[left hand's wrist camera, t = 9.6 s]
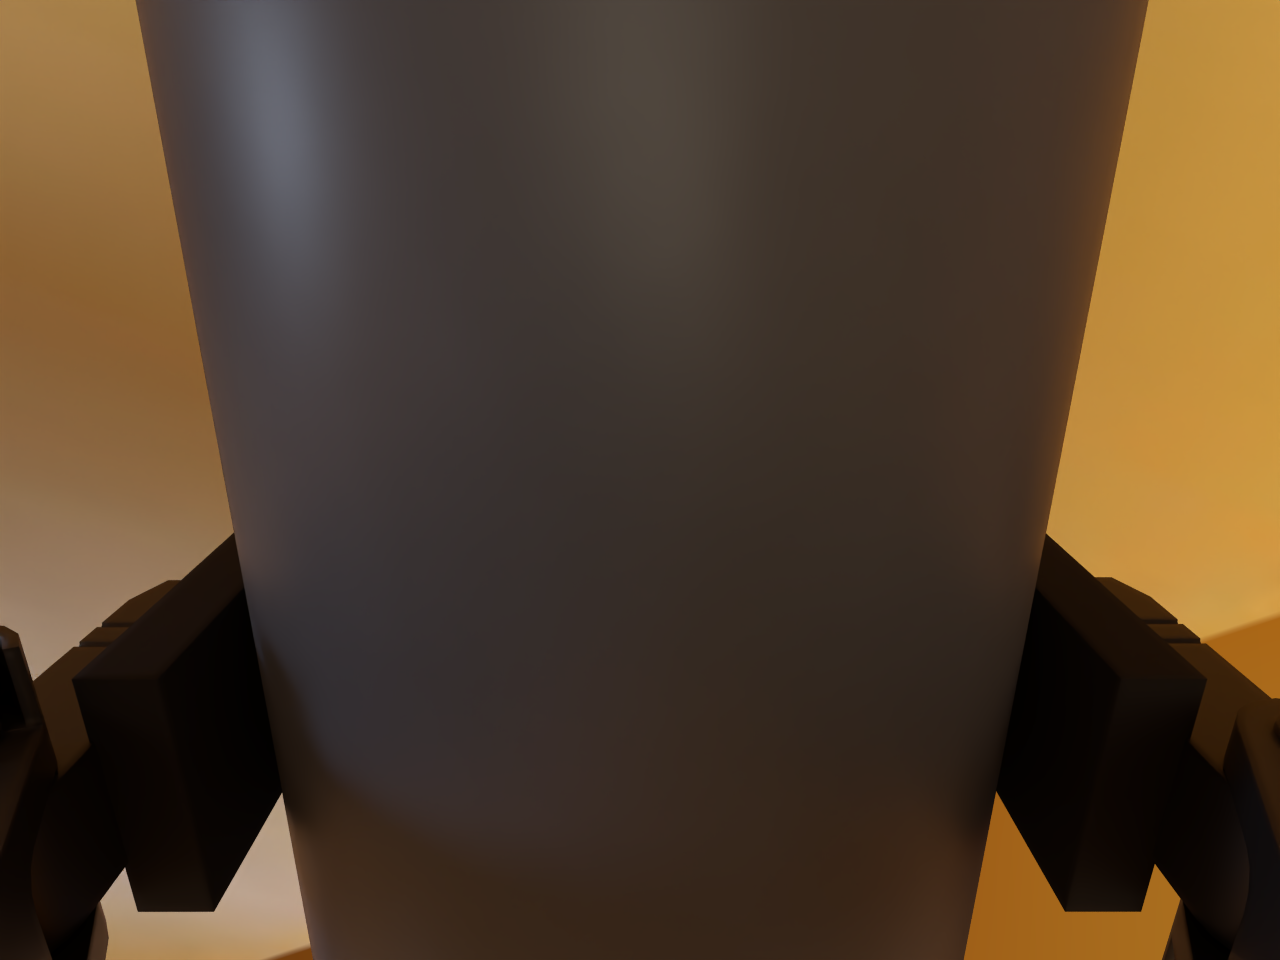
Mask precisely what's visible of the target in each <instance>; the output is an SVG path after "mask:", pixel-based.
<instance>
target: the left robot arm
mask: <svg viewBox="0 0 1280 960" xmlns="http://www.w3.org/2000/svg"><path fill="white" fill-rule="evenodd" d="M996 791H997V793H998V795H999V797H1000V798H1001V800H1002V802H1003V804H1004V805H1005V807H1006V809H1007V811H1008V812H1009V814H1010V816H1011V818H1012V819H1013V821H1014V823H1015V825H1016V826H1017V828H1018V830H1019V832H1020V833H1021V835H1022V837H1023V839H1024V840H1025V842H1026V844H1027V846H1028V847H1029V849H1030V851H1031V853H1032V854H1033V856H1034V858H1035V860H1036V861H1037V863H1038V865H1039V867H1040V868H1041V870H1042V872H1043V874H1044V875H1045V877H1046V879H1047V881H1048V882H1049V884H1050V886H1051V888H1052V889H1053V891H1054V893H1055V895H1056V896H1057V898H1058V900H1059V902H1060V904H1061V905H1062V907H1063V909H1064V911H1065V912H1141V910H1142V906H1143V903H1144V900H1145V896H1146V893H1147V889H1148V886H1149V882H1150V879H1151V875H1152V872H1153V868H1154V865H1155V864H1156V866H1157V867H1158V868H1159V870H1160V871H1161V873H1162V874H1163V875H1164V877H1165V878H1166V879H1167V881H1168V882H1169V883H1170V885H1171V886H1172V887H1173V889H1174V890H1175V891H1176V893H1177V894H1178V896H1179V897H1180V898H1181V900H1180V903H1179V906H1178V909H1177V913H1176V916H1175V919H1174V922H1173V926H1172V929H1171V932H1170V935H1169V939H1168V942H1167V945H1166V949H1165V952H1164V955H1163V958H1162V960H1280V699H1278V698H1274V699H1271V698H1270V697H1269V696H1268V695H1267V694H1265V693H1264V692H1263V691H1262V690H1261V689H1259V688H1258V687H1257V686H1256V685H1255V684H1254V683H1252V682H1251V681H1250V680H1249V679H1248V678H1246V677H1245V676H1244V675H1243V674H1242V673H1241V672H1239V671H1238V670H1237V669H1236V668H1235V667H1233V666H1232V665H1231V664H1230V663H1229V662H1227V661H1226V660H1225V659H1224V658H1223V657H1221V656H1220V655H1219V654H1218V653H1217V652H1216V651H1214V650H1213V649H1212V648H1211V647H1209V646H1208V645H1207V644H1201V642H1200V638H1199V637H1198V636H1197V635H1195V634H1194V633H1193V632H1192V631H1191V630H1189V629H1188V628H1187V627H1186V626H1185V625H1183V624H1178V622H1177V619H1176V618H1175V617H1174V616H1173V615H1172V614H1170V613H1169V612H1168V611H1167V610H1166V609H1164V608H1163V607H1162V606H1161V605H1160V604H1158V603H1157V602H1156V601H1155V600H1154V599H1153V598H1151V597H1150V596H1148V595H1146V594H1144V593H1142V592H1140V591H1138V590H1136V589H1134V588H1132V587H1130V586H1128V585H1126V584H1124V583H1122V582H1120V581H1118V580H1116V579H1114V578H1112V577H1094V576H1093V575H1091V574H1090V573H1089V572H1088V571H1087V570H1086V569H1085V568H1084V567H1083V566H1082V565H1080V564H1079V563H1078V562H1077V561H1076V560H1075V559H1074V558H1073V557H1072V556H1070V555H1069V554H1068V553H1067V552H1066V551H1065V550H1064V549H1063V548H1062V547H1060V546H1059V545H1058V544H1057V543H1056V542H1055V541H1054V540H1053V539H1052V538H1050V537H1049V536H1048V535H1047V534H1046V535H1045V540H1044V545H1043V550H1042V555H1041V561H1040V566H1039V571H1038V576H1037V581H1036V586H1035V592H1034V597H1033V602H1032V607H1031V612H1030V618H1029V623H1028V628H1027V633H1026V638H1025V644H1024V649H1023V654H1022V659H1021V664H1020V669H1019V675H1018V680H1017V685H1016V690H1015V695H1014V701H1013V706H1012V711H1011V716H1010V721H1009V727H1008V732H1007V737H1006V742H1005V747H1004V752H1003V758H1002V763H1001V768H1000V773H999V778H998V784H997V789H996ZM281 793H282V788H281V782H280V777H279V772H278V766H277V761H276V755H275V750H274V745H273V739H272V734H271V728H270V723H269V718H268V712H267V707H266V701H265V696H264V691H263V685H262V680H261V674H260V669H259V664H258V658H257V653H256V647H255V642H254V637H253V631H252V626H251V620H250V615H249V610H248V604H247V599H246V593H245V588H244V583H243V577H242V572H241V566H240V561H239V556H238V550H237V545H236V539H235V534H234V533H233V534H232V535H231V536H230V537H229V538H227V539H226V540H225V541H224V542H223V543H222V544H221V545H220V546H219V547H218V548H216V549H215V550H214V551H213V552H212V553H211V554H210V555H209V556H208V557H206V558H205V559H204V560H203V561H202V562H201V563H200V564H199V565H198V566H196V567H195V568H194V569H193V570H192V571H191V572H190V573H189V574H188V575H186V576H185V577H184V578H183V579H182V580H168V581H166V582H164V583H162V584H160V585H158V586H156V587H154V588H152V589H150V590H148V591H146V592H144V593H142V594H140V595H138V596H136V597H134V598H132V599H130V600H128V601H127V602H126V603H125V604H124V605H123V606H121V607H120V608H119V609H118V610H117V611H115V612H114V613H113V614H112V615H111V616H110V617H108V618H107V619H106V620H105V621H104V622H102V627H97V628H95V629H94V630H93V631H92V632H91V633H90V634H88V635H87V636H86V637H85V638H84V639H82V640H81V641H80V645H79V647H73V648H72V649H71V650H69V651H68V652H67V653H66V654H65V655H64V656H62V657H61V658H60V659H59V660H58V661H56V662H55V663H54V664H53V665H52V666H51V667H49V668H48V669H47V670H46V671H45V672H44V673H42V674H41V675H40V676H39V677H38V678H36V679H35V680H34V681H33V680H32V677H31V674H30V670H29V667H28V664H27V661H26V657H25V654H24V651H23V648H22V644H21V641H20V638H19V635H18V633H16V632H14V631H12V630H11V629H9V628H7V627H5V626H0V960H105V958H106V952H107V945H108V939H109V937H108V931H107V924H106V919H105V916H104V913H103V909H102V906H101V903H100V900H101V899H102V898H103V896H104V895H105V894H106V892H107V891H108V889H109V888H110V887H111V885H112V884H113V883H114V881H115V880H116V879H117V877H118V876H119V874H120V873H121V872H122V870H123V869H124V868H126V872H127V875H128V879H129V882H130V886H131V889H132V893H133V896H134V900H135V903H136V907H137V910H138V912H214V911H215V909H216V907H217V905H218V904H219V902H220V900H221V898H222V897H223V895H224V893H225V891H226V890H227V888H228V886H229V884H230V883H231V881H232V879H233V877H234V876H235V874H236V872H237V870H238V869H239V867H240V865H241V863H242V862H243V860H244V858H245V856H246V855H247V853H248V851H249V849H250V848H251V846H252V844H253V842H254V841H255V839H256V837H257V835H258V834H259V832H260V830H261V828H262V827H263V825H264V823H265V821H266V820H267V818H268V816H269V814H270V813H271V811H272V809H273V807H274V806H275V804H276V802H277V800H278V799H279V797H280V795H281Z"/></svg>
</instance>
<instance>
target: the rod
mask: <svg viewBox="0 0 1280 960" xmlns="http://www.w3.org/2000/svg"><path fill="white" fill-rule="evenodd" d="M136 5H137V10H138V15H139V21H140V26H141V32H142V37H143V42H144V48H145V53H146V59H147V64H148V69H149V75H150V80H151V86H152V91H153V96H154V102H155V107H156V113H157V118H158V123H159V129H160V134H161V140H162V145H163V150H164V156H165V161H166V167H167V172H168V177H169V183H170V188H171V194H172V199H173V204H174V210H175V215H176V221H177V226H178V231H179V237H180V242H181V248H182V253H183V258H184V264H185V269H186V275H187V280H188V286H189V291H190V296H191V302H192V307H193V313H194V318H195V323H196V329H197V334H198V340H199V345H200V350H201V356H202V361H203V367H204V372H205V377H206V383H207V388H208V394H209V399H210V404H211V410H212V415H213V421H214V426H215V431H216V437H217V442H218V448H219V453H220V458H221V464H222V469H223V475H224V480H225V485H226V491H227V496H228V502H229V507H230V512H231V518H232V523H233V529H234V534H235V539H236V545H237V550H238V556H239V561H240V566H241V572H242V577H243V583H244V588H245V593H246V599H247V604H248V610H249V615H250V620H251V626H252V631H253V637H254V642H255V647H256V653H257V658H258V664H259V669H260V674H261V680H262V685H263V691H264V696H265V701H266V707H267V712H268V718H269V723H270V728H271V734H272V739H273V745H274V750H275V755H276V761H277V766H278V772H279V777H280V782H281V788H282V793H283V799H284V804H285V810H286V815H287V820H288V826H289V831H290V837H291V842H292V847H293V853H294V858H295V864H296V869H297V874H298V880H299V885H300V891H301V896H302V901H303V907H304V912H305V918H306V923H307V928H308V934H309V939H310V945H311V950H312V955H313V960H964V955H965V950H966V944H967V939H968V934H969V929H970V924H971V919H972V913H973V908H974V903H975V898H976V892H977V887H978V882H979V877H980V872H981V867H982V861H983V856H984V851H985V846H986V841H987V835H988V830H989V825H990V819H991V815H992V810H993V804H994V799H995V794H996V789H997V784H998V778H999V773H1000V768H1001V763H1002V758H1003V752H1004V747H1005V742H1006V737H1007V732H1008V727H1009V721H1010V716H1011V711H1012V706H1013V701H1014V695H1015V690H1016V685H1017V680H1018V675H1019V669H1020V664H1021V659H1022V654H1023V649H1024V644H1025V638H1026V633H1027V628H1028V623H1029V618H1030V612H1031V607H1032V602H1033V597H1034V592H1035V586H1036V581H1037V576H1038V571H1039V566H1040V561H1041V555H1042V550H1043V545H1044V540H1045V535H1046V529H1047V524H1048V519H1049V514H1050V509H1051V503H1052V498H1053V493H1054V488H1055V483H1056V478H1057V472H1058V467H1059V462H1060V457H1061V452H1062V446H1063V441H1064V436H1065V431H1066V426H1067V420H1068V415H1069V410H1070V405H1071V400H1072V395H1073V389H1074V384H1075V379H1076V374H1077V369H1078V363H1079V358H1080V353H1081V348H1082V343H1083V337H1084V332H1085V327H1086V322H1087V317H1088V312H1089V306H1090V301H1091V296H1092V291H1093V286H1094V280H1095V275H1096V270H1097V265H1098V260H1099V254H1100V249H1101V244H1102V239H1103V234H1104V229H1105V223H1106V218H1107V213H1108V208H1109V203H1110V197H1111V192H1112V187H1113V182H1114V177H1115V171H1116V166H1117V161H1118V156H1119V151H1120V146H1121V140H1122V135H1123V130H1124V125H1125V120H1126V114H1127V109H1128V104H1129V99H1130V94H1131V88H1132V83H1133V78H1134V73H1135V68H1136V63H1137V57H1138V52H1139V47H1140V42H1141V37H1142V31H1143V26H1144V21H1145V16H1146V11H1147V5H1148V0H136Z"/></svg>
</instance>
